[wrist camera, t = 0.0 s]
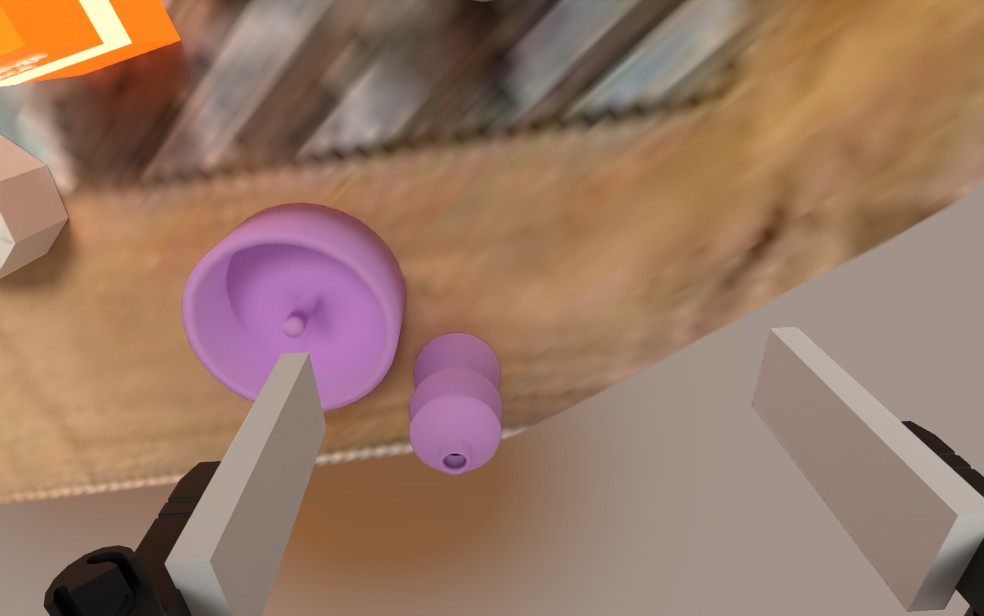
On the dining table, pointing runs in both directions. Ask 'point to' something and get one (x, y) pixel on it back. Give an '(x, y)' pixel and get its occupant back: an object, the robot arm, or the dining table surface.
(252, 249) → the container set
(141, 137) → the dining table surface
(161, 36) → the orange juice
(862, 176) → the dining table surface
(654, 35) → the dining table surface
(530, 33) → the dining table surface
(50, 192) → the bowl
